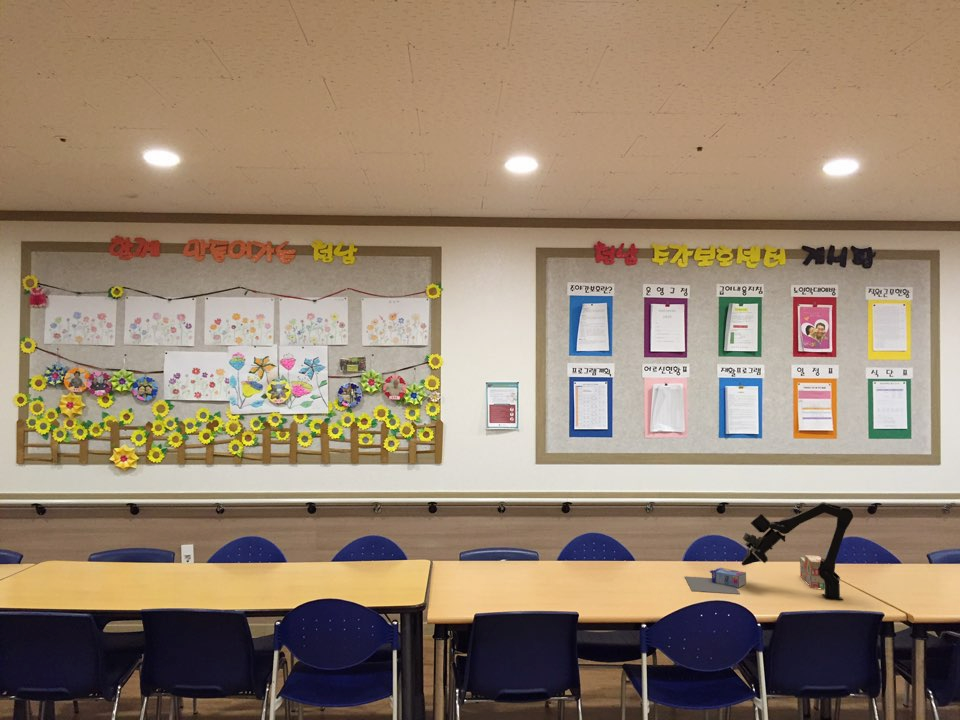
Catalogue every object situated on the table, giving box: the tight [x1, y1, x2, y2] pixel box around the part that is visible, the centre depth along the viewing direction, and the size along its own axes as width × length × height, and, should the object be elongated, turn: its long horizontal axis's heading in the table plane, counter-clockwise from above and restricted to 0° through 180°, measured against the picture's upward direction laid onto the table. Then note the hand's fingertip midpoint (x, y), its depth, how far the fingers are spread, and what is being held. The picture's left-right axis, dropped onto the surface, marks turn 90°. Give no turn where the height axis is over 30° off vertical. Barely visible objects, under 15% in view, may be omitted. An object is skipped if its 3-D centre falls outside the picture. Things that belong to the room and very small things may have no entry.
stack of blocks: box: [799, 554, 825, 590], centre depth 307 cm, size 21×6×12 cm, turn 167°
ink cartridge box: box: [709, 567, 747, 589], centre depth 304 cm, size 10×6×14 cm
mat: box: [684, 575, 741, 595], centre depth 300 cm, size 24×20×1 cm
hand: (742, 564), depth 298 cm, fingers closed
